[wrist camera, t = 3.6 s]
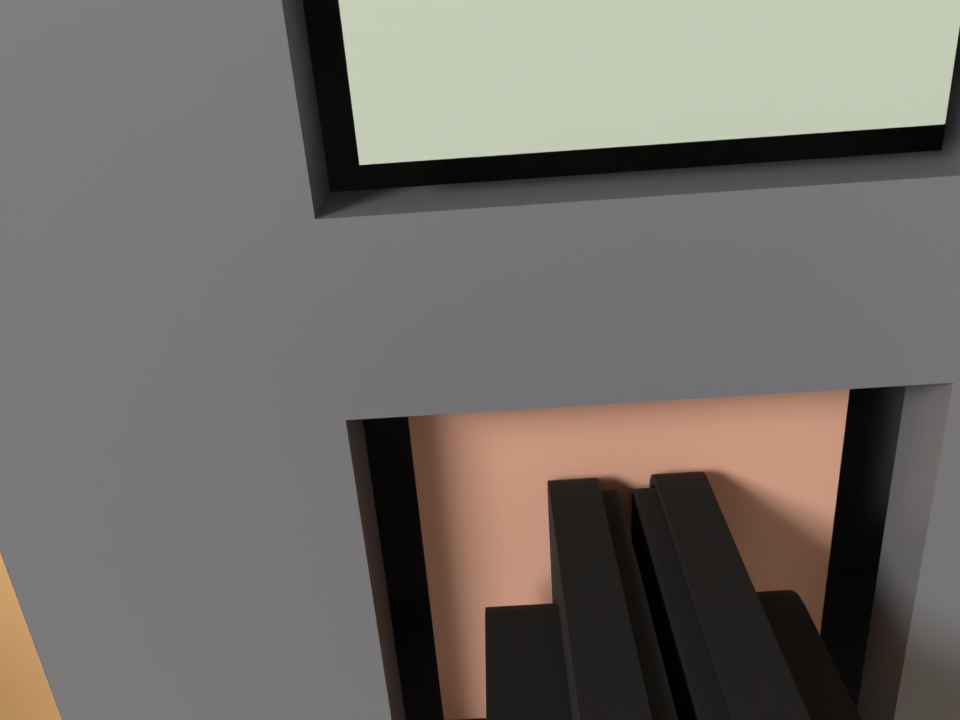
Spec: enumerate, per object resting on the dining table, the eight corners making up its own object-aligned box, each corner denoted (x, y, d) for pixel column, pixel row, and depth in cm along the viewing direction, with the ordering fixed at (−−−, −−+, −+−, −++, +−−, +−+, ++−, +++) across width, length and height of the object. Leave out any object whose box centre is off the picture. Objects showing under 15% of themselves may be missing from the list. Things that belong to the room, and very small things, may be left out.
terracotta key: (419, 306, 11) (405, 398, 9) (778, 283, 11) (851, 370, 9) (449, 588, 13) (443, 720, 11) (756, 571, 13) (812, 700, 11)
